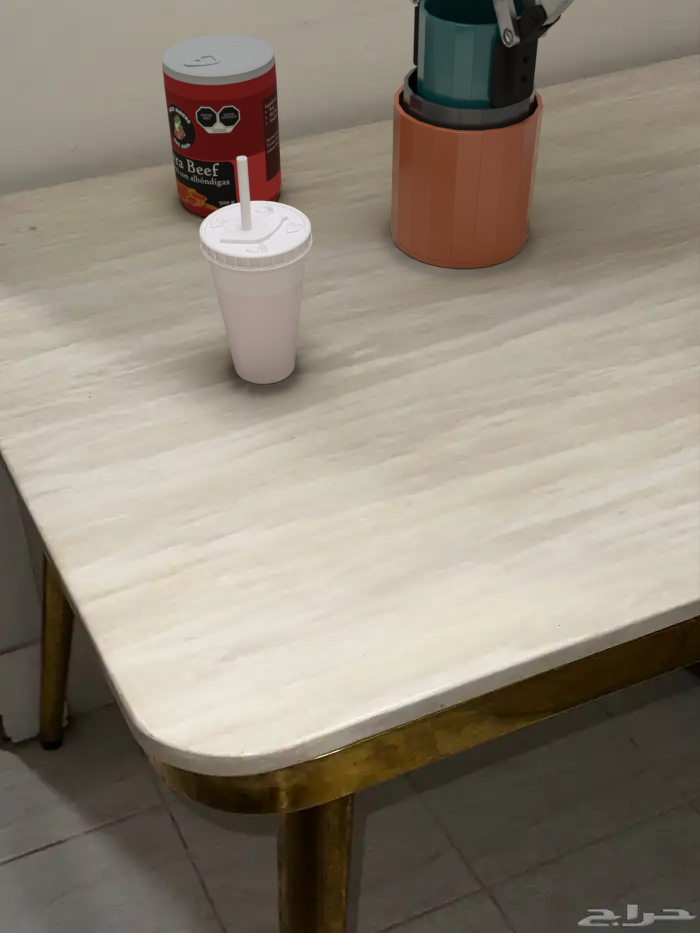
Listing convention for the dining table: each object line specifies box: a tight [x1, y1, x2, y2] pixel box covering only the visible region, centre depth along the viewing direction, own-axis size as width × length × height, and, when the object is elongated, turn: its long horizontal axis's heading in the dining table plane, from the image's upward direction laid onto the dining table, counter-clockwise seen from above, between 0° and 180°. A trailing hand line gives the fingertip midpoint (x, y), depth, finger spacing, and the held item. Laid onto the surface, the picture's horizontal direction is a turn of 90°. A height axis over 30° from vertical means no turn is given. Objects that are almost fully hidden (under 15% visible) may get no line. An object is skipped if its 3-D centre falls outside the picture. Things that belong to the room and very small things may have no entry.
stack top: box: [403, 66, 536, 131], centre depth 77 cm, size 9×9×11 cm
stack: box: [390, 83, 544, 269], centre depth 77 cm, size 10×10×10 cm
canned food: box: [161, 33, 282, 218], centre depth 81 cm, size 8×8×11 cm
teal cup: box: [417, 0, 525, 108], centre depth 73 cm, size 7×7×8 cm
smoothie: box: [198, 156, 313, 385], centre depth 64 cm, size 6×6×14 cm
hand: (471, 79), depth 73 cm, fingers closed on teal cup, 7 cm apart
